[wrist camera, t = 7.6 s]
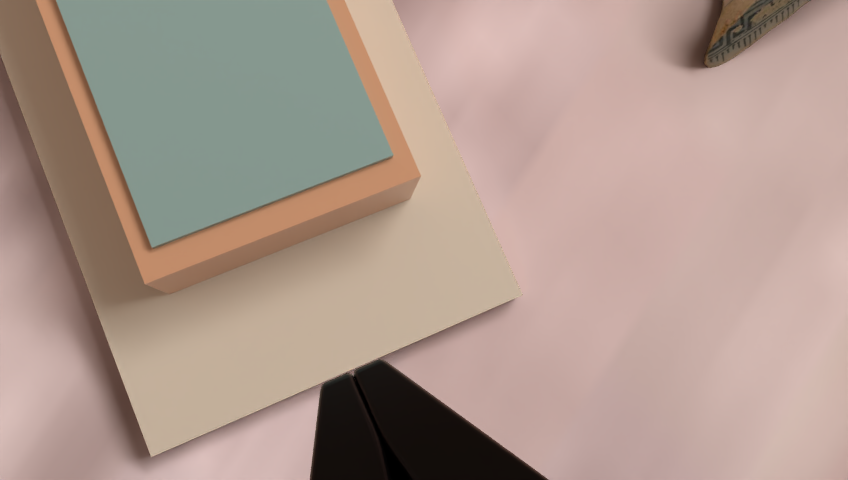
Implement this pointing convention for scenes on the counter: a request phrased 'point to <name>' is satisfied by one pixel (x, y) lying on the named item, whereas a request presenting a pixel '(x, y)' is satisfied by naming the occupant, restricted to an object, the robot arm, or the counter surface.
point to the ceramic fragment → (745, 26)
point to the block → (229, 125)
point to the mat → (268, 257)
